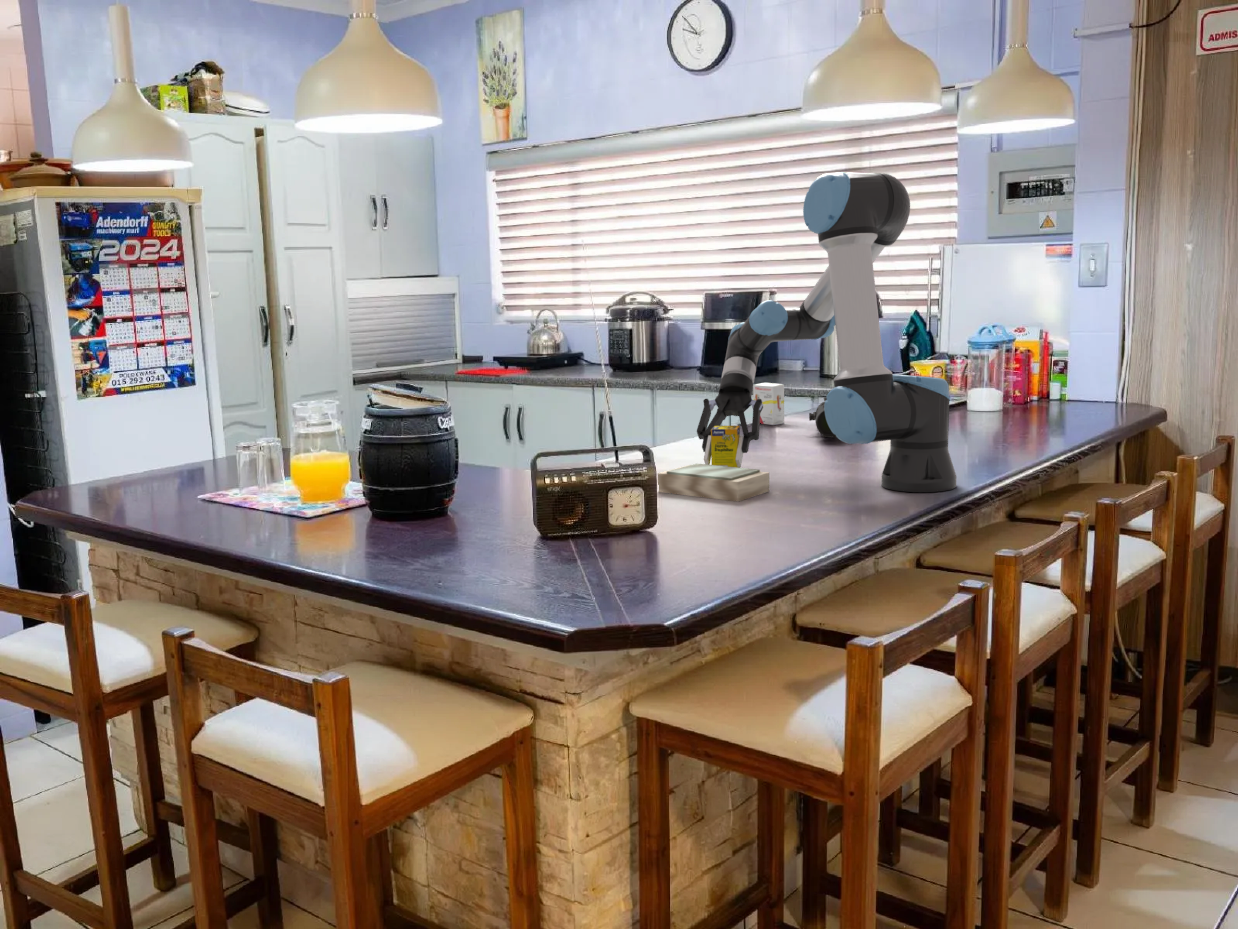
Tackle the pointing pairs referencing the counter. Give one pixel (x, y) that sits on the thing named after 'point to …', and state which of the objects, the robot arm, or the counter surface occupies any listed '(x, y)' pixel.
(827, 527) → the counter surface
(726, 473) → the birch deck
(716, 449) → the supplement box
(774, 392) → the ink box
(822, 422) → the rifle scope
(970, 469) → the counter surface
